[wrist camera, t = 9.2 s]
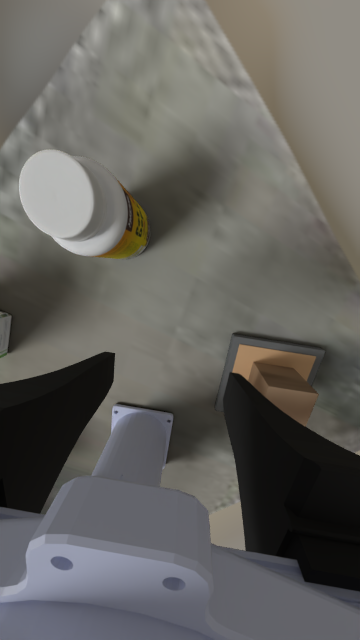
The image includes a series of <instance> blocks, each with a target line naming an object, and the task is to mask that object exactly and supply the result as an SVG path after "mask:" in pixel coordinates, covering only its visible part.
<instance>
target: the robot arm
mask: <svg viewBox="0 0 360 640" xmlns="http://www.w3.org/2000/svg"><path fill="white" fill-rule="evenodd" d="M114 361H115V353H110V352H103V353H100V354H98V355H95V356H93V357H90V358H88V359H86V360H83V361H81V362H79V363H76V364H73V365H71V366H68V367H65V368H63V369H60V370H57V371H54V372H51V373H47V374H44V375H40V376H37V377H32V378H28V379H24V380H19V381H15V382H9V383H4V384H0V640H360V456H359V455H357V454H355V453H353V452H351V451H348V450H346V449H344V448H342V447H340V446H338V445H336V444H335V443H333V442H331V441H329V440H327V439H325V438H323V437H322V436H320V435H318V434H317V433H315V432H313V431H311V430H310V429H308V428H307V427H305V426H303V425H302V424H300V423H299V422H297V421H296V420H294V419H293V418H291V417H290V416H289V415H287V414H286V413H284V412H283V411H282V410H280V409H279V408H278V407H277V406H275V405H274V404H273V403H272V402H271V401H269V400H268V399H267V398H266V397H265V396H264V395H262V394H261V393H260V392H259V391H258V390H257V389H256V388H255V387H254V386H253V385H252V384H251V383H250V382H248V381H247V380H246V379H245V378H244V377H243V376H242V375H241V374H239V373H232V372H230V373H229V377H228V381H227V385H226V389H225V393H224V397H223V408H224V416H225V420H226V424H227V429H228V433H229V437H230V441H231V445H232V449H233V453H234V458H235V463H236V470H237V477H238V484H239V492H240V500H241V508H242V517H243V526H244V536H245V547H246V551H243V550H238V549H233V548H227V547H221V546H216V545H214V544H212V543H211V539H210V524H209V514H208V510H207V509H206V508H205V507H204V506H203V505H202V504H201V502H200V501H199V500H198V499H197V498H196V497H195V496H193V495H190V494H188V493H185V492H182V491H180V490H176V489H170V488H164V487H160V482H161V475H162V469H163V468H165V464H166V458H167V452H168V446H169V441H170V435H171V429H172V423H173V414H172V413H167V412H161V411H155V410H149V409H143V408H137V407H131V406H126V405H120V404H115V405H114V406H113V409H112V427H111V435H110V437H109V439H108V442H107V444H106V446H105V448H104V450H103V452H102V454H101V456H100V458H99V460H98V462H97V465H96V467H95V469H94V471H93V473H92V475H91V476H79V477H76V478H74V479H72V480H71V481H69V482H67V483H65V484H64V485H63V486H62V487H61V489H60V491H59V492H58V494H57V496H56V498H55V499H54V501H53V503H52V504H51V506H50V508H49V510H48V511H47V513H46V515H43V514H40V513H41V510H42V508H43V506H44V504H45V502H46V500H47V498H48V496H49V494H50V492H51V490H52V488H53V486H54V484H55V482H56V480H57V478H58V476H59V474H60V472H61V470H62V468H63V466H64V464H65V462H66V460H67V458H68V456H69V454H70V453H71V451H72V449H73V447H74V445H75V443H76V442H77V440H78V438H79V436H80V434H81V433H82V431H83V430H84V428H85V426H86V425H87V424H88V422H89V421H90V419H91V418H92V416H93V415H94V413H95V412H96V410H97V409H98V407H99V406H100V404H101V403H102V402H103V400H104V399H105V397H106V395H107V393H108V392H109V390H110V388H111V385H112V383H113V379H114ZM116 411H118V412H116Z"/></svg>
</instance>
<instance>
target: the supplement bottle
mask: <svg viewBox="0 0 360 640" xmlns="http://www.w3.org/2000/svg"><path fill="white" fill-rule="evenodd" d="M19 192H20V198H21V202H22V205H23V207H24V210H25V212H26V213H27V215H28V217H29V218H30V220H31V221H32V222H33V223H34V224H35V225H36V226H37V227H38V228H39V229H40V230H42V231H43V232H45V233H46V234H48V235H50V236H52V238H53V239H54V240H55V241H56V242H57V243H58V244H60V245H61V246H62V247H63V248H65V249H67V250H68V251H70V252H73V253H75V254H79V255H83V256H92V257H104V258H115V259H130V258H134V257H136V256H138V255H139V254H140V253H141V252H143V250H144V249H145V248H146V246H147V244H148V242H149V239H150V223H149V220H148V217H147V215H146V213H145V212H144V210H143V209H142V207H141V206H140V205H139V204H138V203H137V202H136V201H135V199H134V198H133V197H132V196H131V195H130V194H129V192H128V191H127V190H126V189H125V188H124V187H123V186H122V184H121V183H120V182H119V181H118V180H117V179H116V178H115V176H114V175H113V174H112V173H111V172H110V171H109V170H108V169H107V168H105V167H104V166H103V165H101V164H100V163H98V162H97V161H95V160H92V159H90V158H87V157H82V156H71V155H69V154H67V153H65V152H62V151H59V150H52V149H48V150H42V151H40V152H37V153H35V154H34V155H33V156H31V157H30V158H29V159H28V160H27V162H26V163H25V165H24V167H23V169H22V171H21V175H20V180H19Z"/></svg>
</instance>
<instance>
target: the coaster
mask: <svg viewBox="0 0 360 640" xmlns="http://www.w3.org/2000/svg"><path fill="white" fill-rule="evenodd" d="M324 354H325V350H323V349H322V348H319V347H313V346H306V345H300V344H294V343H288V342H282V341H275V340H269V339H263V338H257V337H250V336H244V335H238V334H232V338H231V342H230V346H229V350H228V354H227V358H226V362H225V366H224V371H223V375H222V379H221V383H220V387H219V391H218V395H217V399H216V404H215V410H216V411H221V412H224V408H223V397H224V393H225V389H226V385H227V381H228V377H229V373H230V372H232V373H239V374H241V375H242V376H243V377H244V378H245V379H246V380H247V381H248V379H249V375H250V372H251V368H252V365H253V362H258V363H264V364H271V365H277V366H284V367H290V368H294V369H295V370H296V371H297V372H298V373H299V374H300V375H301V376H302V377H303V378H304V379H305V380H306V381H307V382H308V383H309V385H310V386H312V383H313V381H314V379H315V376H316V374H317V371H318V369H319V366H320V364H321V361H322V359H323V356H324Z"/></svg>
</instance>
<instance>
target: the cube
mask: <svg viewBox="0 0 360 640" xmlns="http://www.w3.org/2000/svg"><path fill="white" fill-rule="evenodd" d="M248 382H250V383H251V384H252V385H253V386H254V387H255V388H256V389H257V390H258V391H259V392H260V393H261V394H262V395H264V396H265V397H266V398H267V399H268V400H269V401H271V402H272V403H273V404H274V405H275V406H277V407H278V408H279V409H280V410H282V411H283V412H284V413H286V414H287V415H289V416H290V417H291V418H293V419H294V420H296V421H297V422H299V423H300V424H302V425H303V426H305V427H306V424H307V422H308V419H309V417H310V414H311V412H312V410H313V407H314V405H315V402H316V400H317V397H318V395H319V394H318V393H317V392H316V391H315V390H314V389H313V388H312V387H311V386H310V385H309V383H308V382H307V381H306V380H305V379H304V378H303V377H302V376H301V375H300V374H299V373H298V372H297V371H296V370H295V369H294V368H290V367H284V366H277V365H271V364H264V363H258V362H253V365H252V368H251V372H250V375H249V379H248Z"/></svg>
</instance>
